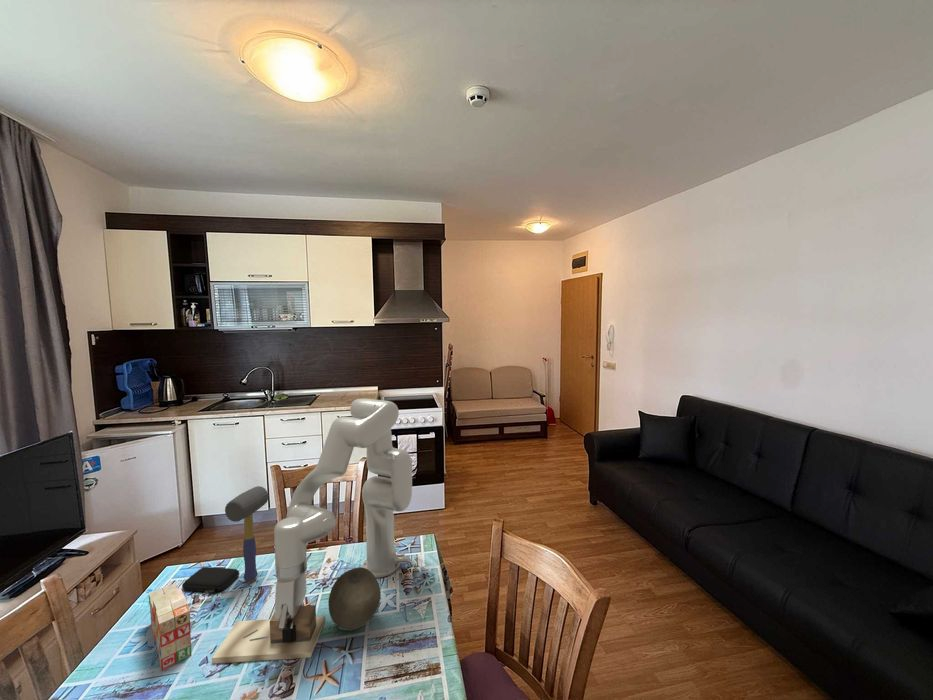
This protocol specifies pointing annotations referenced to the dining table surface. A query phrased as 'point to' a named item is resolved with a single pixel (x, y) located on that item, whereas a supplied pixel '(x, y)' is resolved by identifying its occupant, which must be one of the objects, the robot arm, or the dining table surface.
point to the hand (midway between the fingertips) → (293, 631)
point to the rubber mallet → (247, 524)
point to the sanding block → (303, 622)
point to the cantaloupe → (354, 598)
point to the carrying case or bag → (210, 579)
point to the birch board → (262, 643)
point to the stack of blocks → (170, 625)
